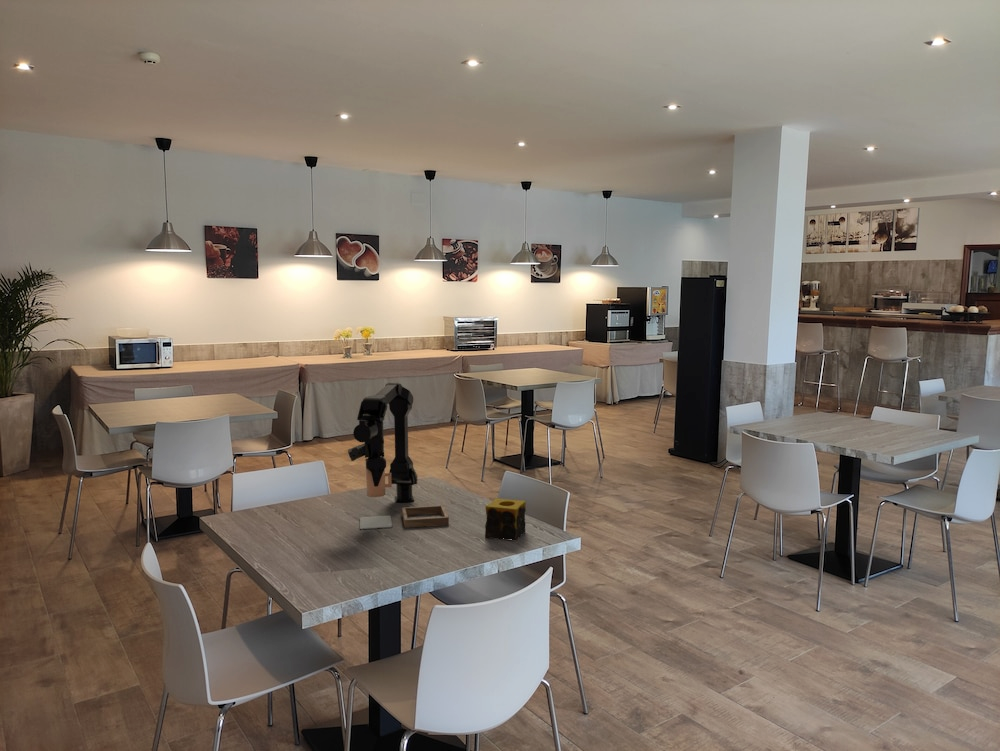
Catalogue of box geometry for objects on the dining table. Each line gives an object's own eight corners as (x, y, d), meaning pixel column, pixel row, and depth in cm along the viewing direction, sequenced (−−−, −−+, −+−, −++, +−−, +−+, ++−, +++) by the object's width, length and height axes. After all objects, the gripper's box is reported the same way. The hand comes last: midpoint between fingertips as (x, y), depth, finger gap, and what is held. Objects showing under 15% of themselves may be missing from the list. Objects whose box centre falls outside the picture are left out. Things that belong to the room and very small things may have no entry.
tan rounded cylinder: (366, 492, 236) (365, 465, 235) (391, 491, 237) (390, 464, 236) (366, 497, 230) (366, 470, 229) (392, 496, 232) (391, 468, 231)
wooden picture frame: (402, 514, 243) (402, 507, 243) (443, 512, 246) (443, 505, 246) (404, 527, 229) (404, 520, 229) (448, 524, 232) (448, 517, 232)
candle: (484, 538, 219) (484, 506, 218) (495, 528, 229) (495, 497, 228) (516, 541, 216) (516, 509, 215) (526, 531, 226) (526, 500, 225)
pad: (359, 518, 239) (359, 517, 239) (390, 516, 241) (390, 515, 241) (360, 529, 228) (360, 528, 228) (392, 527, 230) (392, 526, 230)
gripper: (348, 432, 239) (350, 478, 241) (348, 443, 221) (350, 493, 222) (382, 430, 241) (383, 476, 243) (385, 441, 223) (386, 490, 225)
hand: (375, 483), depth 233 cm, fingers closed on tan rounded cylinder, 6 cm apart
